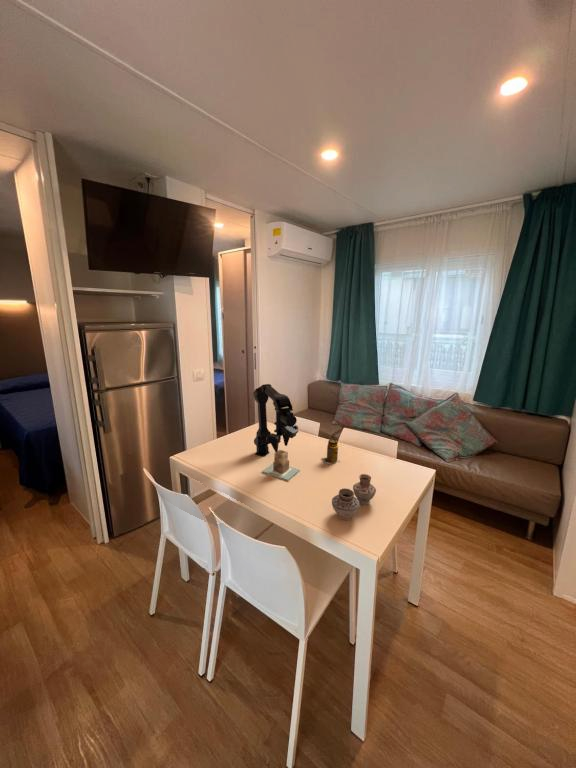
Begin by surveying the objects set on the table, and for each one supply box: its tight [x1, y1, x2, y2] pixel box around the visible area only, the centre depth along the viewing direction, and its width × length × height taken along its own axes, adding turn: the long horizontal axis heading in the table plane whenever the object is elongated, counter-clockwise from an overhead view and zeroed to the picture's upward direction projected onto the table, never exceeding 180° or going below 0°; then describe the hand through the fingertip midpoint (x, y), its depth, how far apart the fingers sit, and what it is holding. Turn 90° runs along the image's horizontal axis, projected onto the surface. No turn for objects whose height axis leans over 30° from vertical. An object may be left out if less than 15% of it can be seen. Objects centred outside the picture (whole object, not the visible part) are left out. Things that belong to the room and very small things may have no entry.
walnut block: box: [272, 459, 290, 474], centre depth 157 cm, size 6×6×5 cm
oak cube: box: [273, 449, 289, 465], centre depth 156 cm, size 5×5×5 cm
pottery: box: [331, 473, 377, 521], centre depth 127 cm, size 11×25×12 cm, turn 136°
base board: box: [261, 463, 301, 482], centre depth 158 cm, size 16×12×1 cm
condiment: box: [321, 438, 341, 465], centre depth 170 cm, size 7×8×12 cm
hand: (281, 448), depth 155 cm, fingers open, 9 cm apart
